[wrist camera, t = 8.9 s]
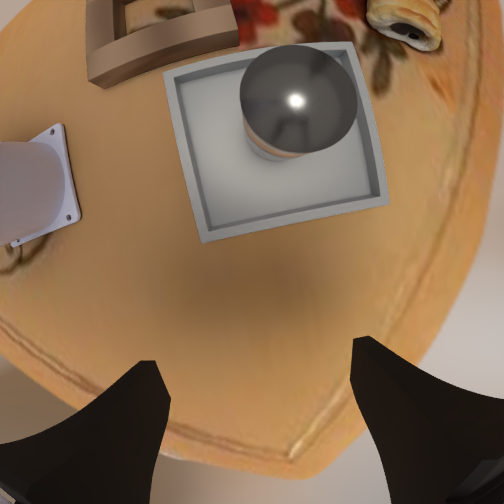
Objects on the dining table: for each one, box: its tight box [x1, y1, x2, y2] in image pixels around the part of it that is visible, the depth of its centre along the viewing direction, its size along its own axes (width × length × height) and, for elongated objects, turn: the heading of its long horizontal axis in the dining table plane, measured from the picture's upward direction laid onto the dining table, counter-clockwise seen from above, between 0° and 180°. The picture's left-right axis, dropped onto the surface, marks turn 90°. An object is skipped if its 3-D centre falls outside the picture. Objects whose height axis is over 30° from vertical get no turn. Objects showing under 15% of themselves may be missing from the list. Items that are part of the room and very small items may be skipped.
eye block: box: [86, 0, 239, 89], centre depth 12 cm, size 10×10×2 cm
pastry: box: [366, 0, 442, 51], centre depth 11 cm, size 9×7×4 cm
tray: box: [163, 42, 390, 244], centre depth 16 cm, size 12×11×2 cm
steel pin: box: [240, 45, 358, 162], centre depth 12 cm, size 4×4×8 cm
